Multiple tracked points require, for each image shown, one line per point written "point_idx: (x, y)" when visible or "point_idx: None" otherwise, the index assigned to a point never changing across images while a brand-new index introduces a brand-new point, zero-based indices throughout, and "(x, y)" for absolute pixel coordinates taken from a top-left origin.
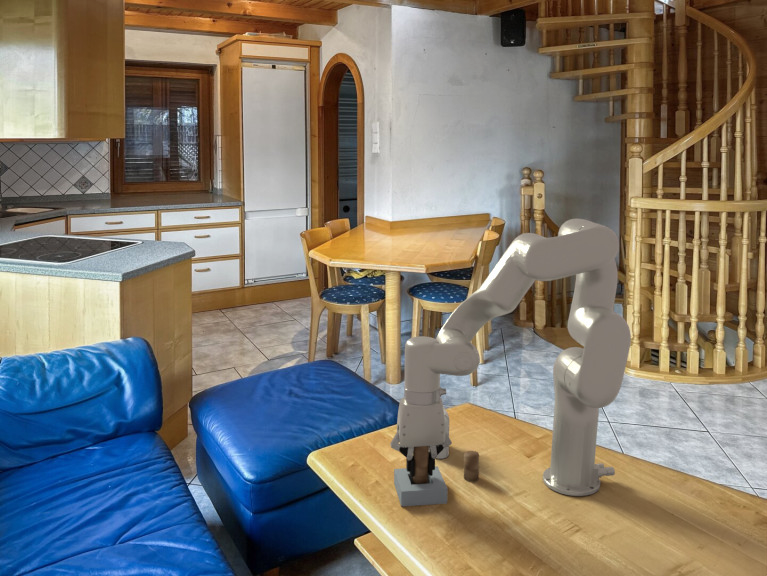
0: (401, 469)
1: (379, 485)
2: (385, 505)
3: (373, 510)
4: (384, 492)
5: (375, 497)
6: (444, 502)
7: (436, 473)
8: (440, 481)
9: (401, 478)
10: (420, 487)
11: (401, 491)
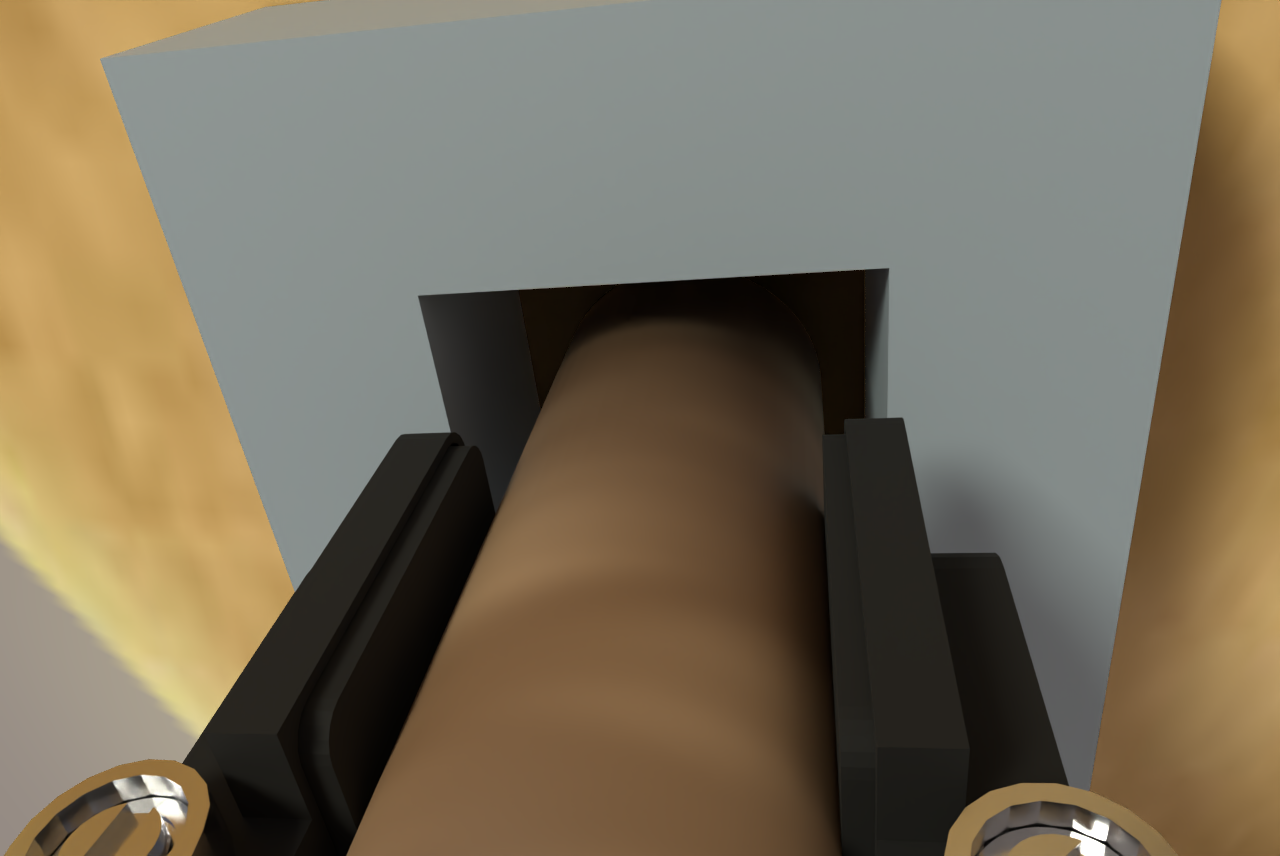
0: (267, 88)
1: (45, 75)
2: (250, 574)
3: (142, 642)
4: (173, 291)
5: (88, 404)
6: None
7: (1063, 317)
8: (1040, 607)
9: (318, 451)
10: None
11: None
